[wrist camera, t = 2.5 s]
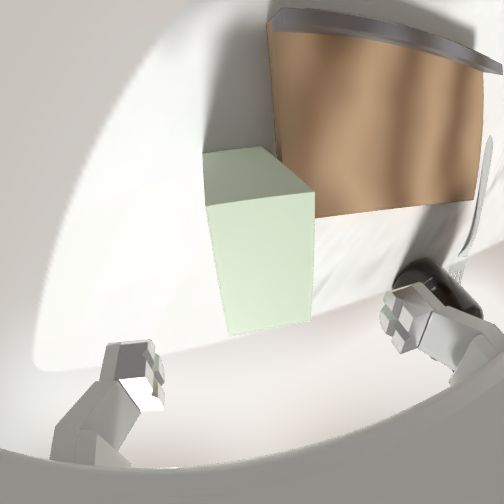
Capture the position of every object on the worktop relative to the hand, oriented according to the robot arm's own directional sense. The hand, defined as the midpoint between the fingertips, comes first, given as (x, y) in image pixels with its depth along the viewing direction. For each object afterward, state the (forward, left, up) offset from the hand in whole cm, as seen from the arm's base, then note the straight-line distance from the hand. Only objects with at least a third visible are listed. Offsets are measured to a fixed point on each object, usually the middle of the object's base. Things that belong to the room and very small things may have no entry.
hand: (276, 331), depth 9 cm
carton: (0, 0, -13) cm, 13 cm away
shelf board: (-13, -5, -13) cm, 19 cm away
